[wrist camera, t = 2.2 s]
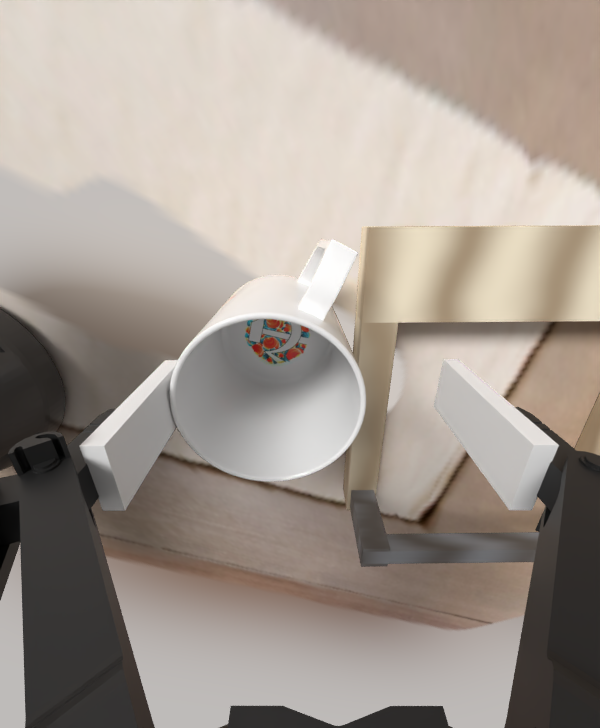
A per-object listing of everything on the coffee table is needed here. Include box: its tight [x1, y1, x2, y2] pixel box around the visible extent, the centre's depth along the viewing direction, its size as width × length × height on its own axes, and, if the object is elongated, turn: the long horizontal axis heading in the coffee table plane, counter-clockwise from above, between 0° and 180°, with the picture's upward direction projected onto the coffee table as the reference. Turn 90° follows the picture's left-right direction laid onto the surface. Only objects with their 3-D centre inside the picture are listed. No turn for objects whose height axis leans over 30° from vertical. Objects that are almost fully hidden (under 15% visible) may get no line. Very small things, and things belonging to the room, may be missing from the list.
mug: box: [169, 239, 366, 482], centre depth 19 cm, size 12×9×11 cm
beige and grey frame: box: [343, 225, 600, 567], centre depth 23 cm, size 24×24×8 cm
